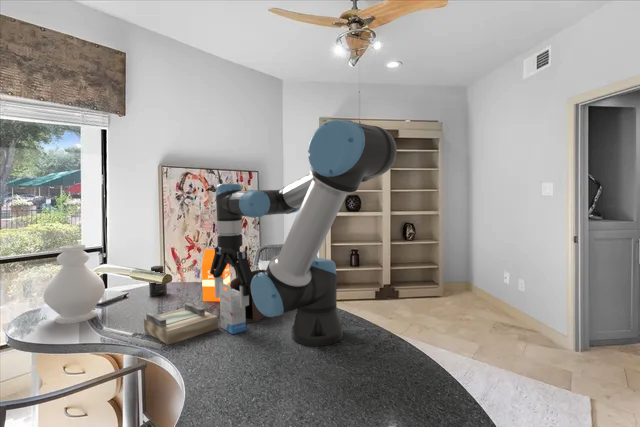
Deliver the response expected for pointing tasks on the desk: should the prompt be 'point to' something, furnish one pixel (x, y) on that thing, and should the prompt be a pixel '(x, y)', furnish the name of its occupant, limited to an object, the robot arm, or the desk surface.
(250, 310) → the letter holder
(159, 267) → the supplement bottle
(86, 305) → the decorative vase
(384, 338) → the desk surface
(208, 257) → the orange juice
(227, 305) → the ink box
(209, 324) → the box
